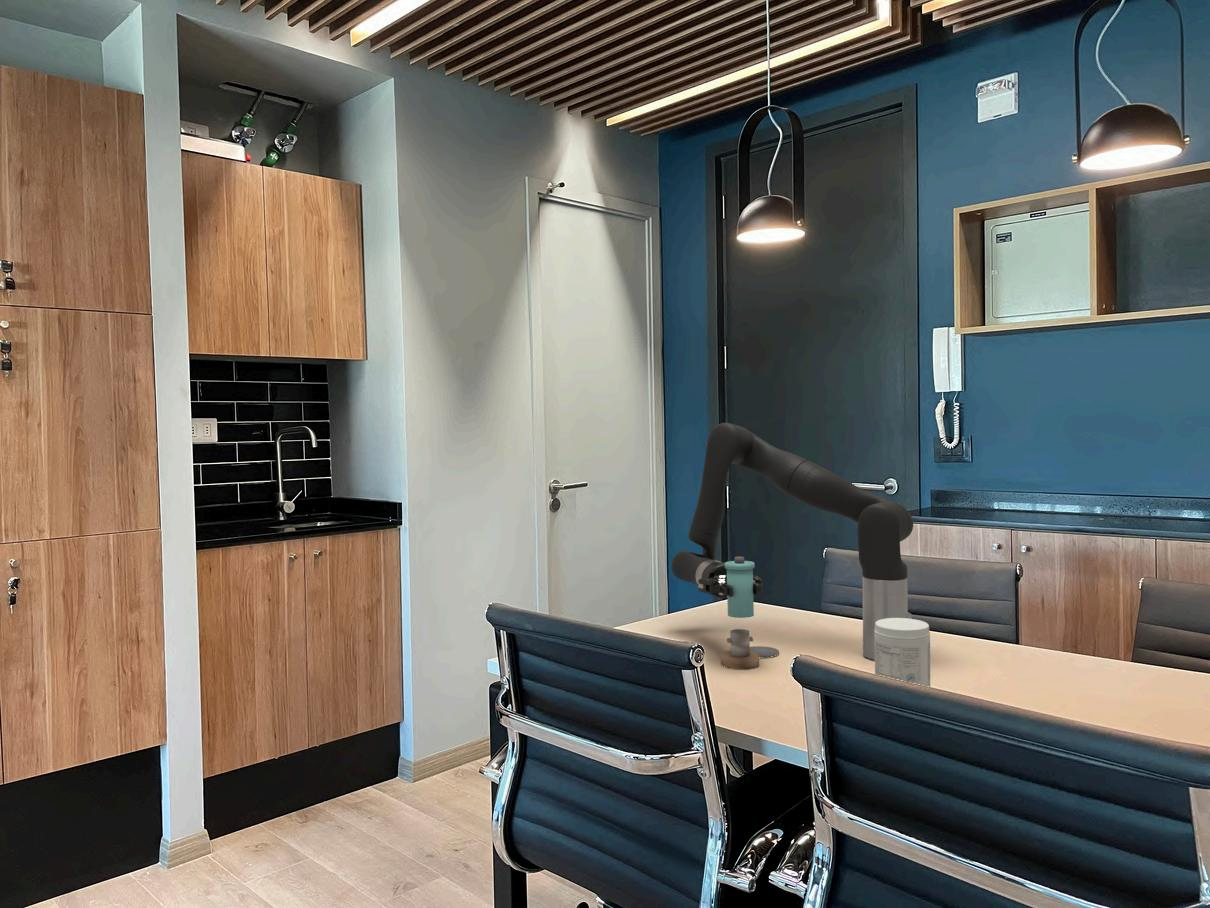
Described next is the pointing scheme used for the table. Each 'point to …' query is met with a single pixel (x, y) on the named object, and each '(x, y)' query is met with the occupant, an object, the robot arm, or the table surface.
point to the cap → (740, 587)
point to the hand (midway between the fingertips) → (744, 590)
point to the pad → (764, 651)
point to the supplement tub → (903, 650)
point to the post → (740, 651)
